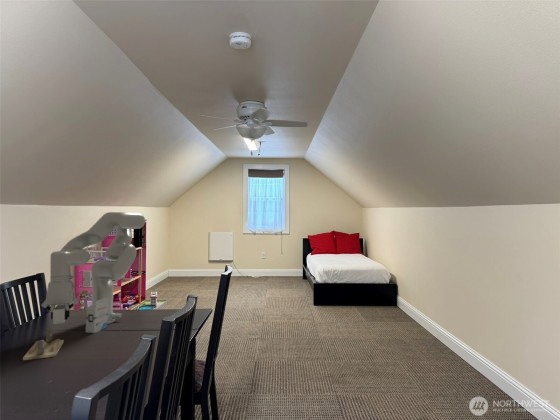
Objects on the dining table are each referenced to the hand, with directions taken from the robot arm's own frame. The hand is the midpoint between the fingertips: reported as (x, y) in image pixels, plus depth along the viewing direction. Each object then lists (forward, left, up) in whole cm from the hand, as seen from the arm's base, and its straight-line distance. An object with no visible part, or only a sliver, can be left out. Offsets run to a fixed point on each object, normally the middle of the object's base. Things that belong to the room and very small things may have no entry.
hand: (60, 319), depth 146 cm
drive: (0, 0, -1) cm, 1 cm away
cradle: (+2, +17, -7) cm, 19 cm away
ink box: (-14, -4, -8) cm, 17 cm away
